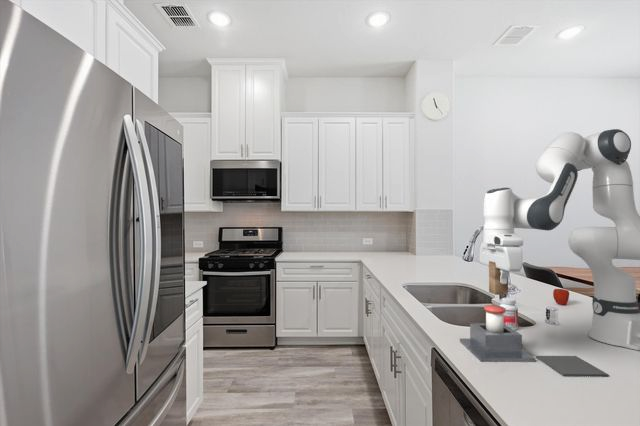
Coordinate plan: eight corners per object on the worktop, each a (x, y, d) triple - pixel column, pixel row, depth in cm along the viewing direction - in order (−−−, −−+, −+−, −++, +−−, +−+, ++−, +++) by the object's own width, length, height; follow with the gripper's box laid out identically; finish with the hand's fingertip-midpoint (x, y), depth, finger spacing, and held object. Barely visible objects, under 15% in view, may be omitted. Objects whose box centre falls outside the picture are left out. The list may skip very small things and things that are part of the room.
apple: (551, 304, 165) (551, 288, 165) (555, 302, 169) (555, 286, 169) (567, 307, 161) (567, 291, 161) (570, 304, 165) (570, 289, 165)
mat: (575, 357, 105) (575, 355, 105) (608, 376, 93) (608, 374, 93) (536, 357, 105) (536, 355, 105) (563, 376, 93) (563, 374, 93)
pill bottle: (507, 324, 136) (507, 296, 136) (521, 329, 130) (521, 300, 130) (495, 326, 133) (495, 297, 133) (509, 331, 128) (509, 301, 128)
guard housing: (506, 341, 118) (506, 321, 118) (535, 361, 102) (535, 338, 102) (459, 341, 118) (459, 321, 118) (480, 361, 102) (480, 338, 102)
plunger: (499, 332, 113) (499, 305, 113) (509, 339, 107) (509, 310, 107) (481, 332, 113) (481, 305, 113) (489, 339, 107) (489, 310, 107)
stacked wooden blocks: (501, 292, 112) (501, 261, 112) (508, 294, 108) (507, 262, 108) (489, 292, 112) (488, 261, 112) (495, 294, 108) (495, 262, 108)
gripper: (474, 236, 121) (474, 276, 120) (504, 240, 100) (504, 287, 100) (492, 237, 120) (492, 276, 120) (526, 240, 100) (526, 288, 100)
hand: (498, 282), depth 110 cm, fingers closed on stacked wooden blocks, 4 cm apart
